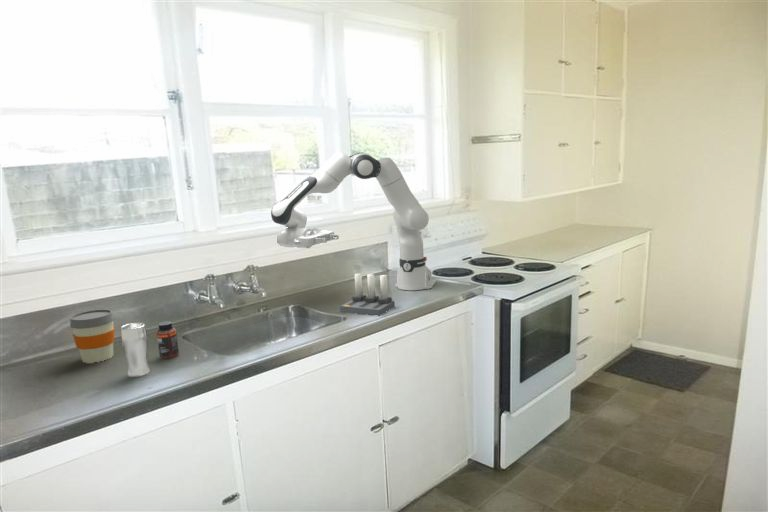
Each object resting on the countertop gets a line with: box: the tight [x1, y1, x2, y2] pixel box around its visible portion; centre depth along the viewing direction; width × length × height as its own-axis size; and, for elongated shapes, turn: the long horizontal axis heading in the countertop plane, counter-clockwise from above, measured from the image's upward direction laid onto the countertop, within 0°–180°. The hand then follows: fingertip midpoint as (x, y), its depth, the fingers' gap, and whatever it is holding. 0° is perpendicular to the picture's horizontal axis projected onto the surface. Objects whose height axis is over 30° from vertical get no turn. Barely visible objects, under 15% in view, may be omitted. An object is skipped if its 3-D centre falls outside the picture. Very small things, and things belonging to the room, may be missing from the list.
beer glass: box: [120, 322, 151, 378], centre depth 156 cm, size 7×7×15 cm
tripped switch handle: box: [351, 272, 367, 301], centre depth 220 cm, size 5×4×11 cm
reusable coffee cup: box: [69, 308, 115, 364], centre depth 171 cm, size 13×12×15 cm
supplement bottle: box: [156, 321, 180, 360], centre depth 170 cm, size 6×6×11 cm
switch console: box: [339, 273, 396, 317], centre depth 214 cm, size 14×18×14 cm
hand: (332, 238), depth 224 cm, fingers open, 8 cm apart
